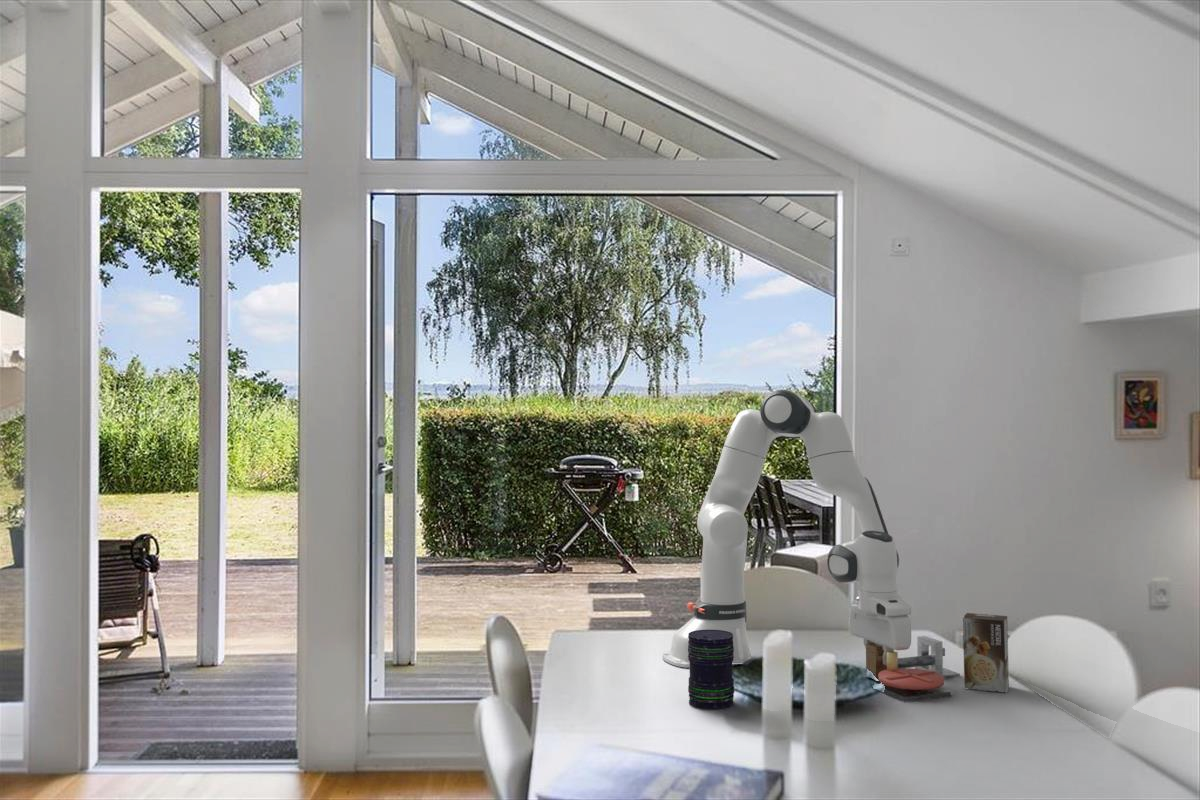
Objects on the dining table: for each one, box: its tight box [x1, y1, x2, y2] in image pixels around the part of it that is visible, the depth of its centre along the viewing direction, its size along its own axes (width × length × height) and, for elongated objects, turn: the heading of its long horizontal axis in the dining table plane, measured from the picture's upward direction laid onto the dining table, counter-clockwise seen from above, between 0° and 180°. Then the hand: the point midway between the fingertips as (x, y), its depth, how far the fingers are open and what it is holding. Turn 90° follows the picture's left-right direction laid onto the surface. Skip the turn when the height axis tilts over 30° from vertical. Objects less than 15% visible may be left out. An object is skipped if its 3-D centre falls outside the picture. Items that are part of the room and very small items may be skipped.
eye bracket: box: [914, 635, 961, 679], centre depth 258 cm, size 6×9×8 cm, turn 20°
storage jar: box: [687, 630, 735, 711], centre depth 234 cm, size 10×10×15 cm
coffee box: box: [962, 612, 1010, 693], centre depth 245 cm, size 9×6×16 cm
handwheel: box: [878, 650, 945, 690], centre depth 242 cm, size 14×14×6 cm
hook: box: [865, 643, 946, 679], centre depth 256 cm, size 20×4×8 cm, turn 110°
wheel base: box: [883, 685, 952, 703], centre depth 242 cm, size 12×12×1 cm
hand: (878, 661), depth 253 cm, fingers closed on hook, 4 cm apart
